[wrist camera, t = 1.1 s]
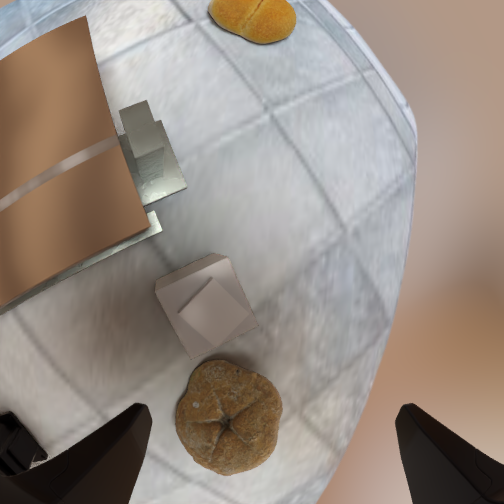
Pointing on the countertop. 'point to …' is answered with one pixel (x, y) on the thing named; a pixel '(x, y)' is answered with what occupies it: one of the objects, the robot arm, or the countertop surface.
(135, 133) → the trapdoor frame
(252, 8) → the bread roll
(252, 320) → the gray block
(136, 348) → the countertop surface
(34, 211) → the trapdoor
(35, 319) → the countertop surface
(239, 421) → the fossil
